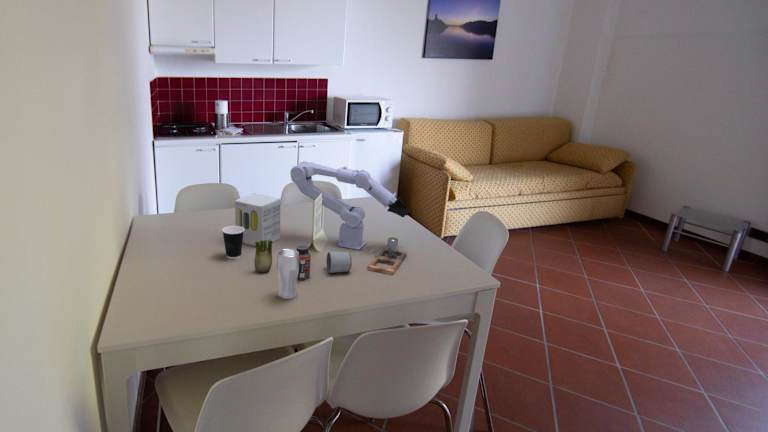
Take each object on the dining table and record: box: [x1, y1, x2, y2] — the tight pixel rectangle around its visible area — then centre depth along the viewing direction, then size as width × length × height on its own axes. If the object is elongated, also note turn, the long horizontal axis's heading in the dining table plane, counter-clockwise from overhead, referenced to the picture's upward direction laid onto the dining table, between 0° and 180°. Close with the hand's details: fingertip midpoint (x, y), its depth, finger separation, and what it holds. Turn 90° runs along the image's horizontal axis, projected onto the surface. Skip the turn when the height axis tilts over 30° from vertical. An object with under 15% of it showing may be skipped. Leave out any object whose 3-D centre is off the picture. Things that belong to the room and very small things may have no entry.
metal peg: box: [385, 237, 399, 259], centre depth 195 cm, size 4×4×8 cm
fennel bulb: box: [253, 240, 273, 273], centre depth 174 cm, size 6×5×12 cm
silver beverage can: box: [276, 248, 299, 300], centre depth 159 cm, size 7×7×15 cm
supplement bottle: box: [295, 244, 312, 281], centre depth 172 cm, size 6×6×11 cm
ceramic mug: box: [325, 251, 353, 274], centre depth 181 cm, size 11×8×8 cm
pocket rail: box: [366, 247, 408, 276], centre depth 191 cm, size 10×20×2 cm, turn 163°
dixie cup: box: [221, 225, 244, 260], centre depth 184 cm, size 8×8×11 cm
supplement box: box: [234, 192, 282, 247], centre depth 200 cm, size 13×13×18 cm
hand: (406, 214), depth 197 cm, fingers open, 7 cm apart
